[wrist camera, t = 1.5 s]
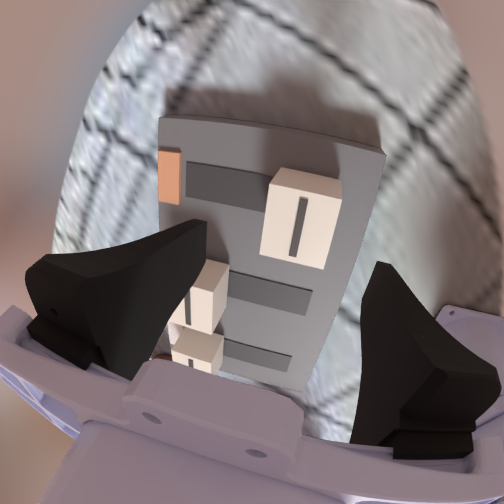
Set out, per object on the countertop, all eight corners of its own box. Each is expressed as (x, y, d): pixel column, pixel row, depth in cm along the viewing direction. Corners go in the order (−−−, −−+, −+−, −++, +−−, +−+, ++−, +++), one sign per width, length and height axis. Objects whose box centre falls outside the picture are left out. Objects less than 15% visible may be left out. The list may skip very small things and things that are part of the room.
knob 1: (229, 264, 21) (212, 293, 18) (226, 306, 23) (211, 336, 21) (184, 253, 22) (162, 278, 19) (185, 294, 24) (166, 321, 21)
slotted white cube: (341, 180, 16) (342, 200, 13) (326, 241, 18) (323, 270, 16) (281, 167, 17) (269, 184, 14) (271, 228, 19) (258, 255, 16)
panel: (381, 149, 17) (387, 156, 15) (305, 376, 29) (302, 394, 27) (173, 114, 19) (156, 118, 17) (179, 340, 31) (170, 355, 29)
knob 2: (224, 335, 25) (210, 364, 22) (222, 362, 27) (210, 389, 25) (186, 324, 26) (170, 350, 23) (188, 351, 28) (174, 377, 25)
